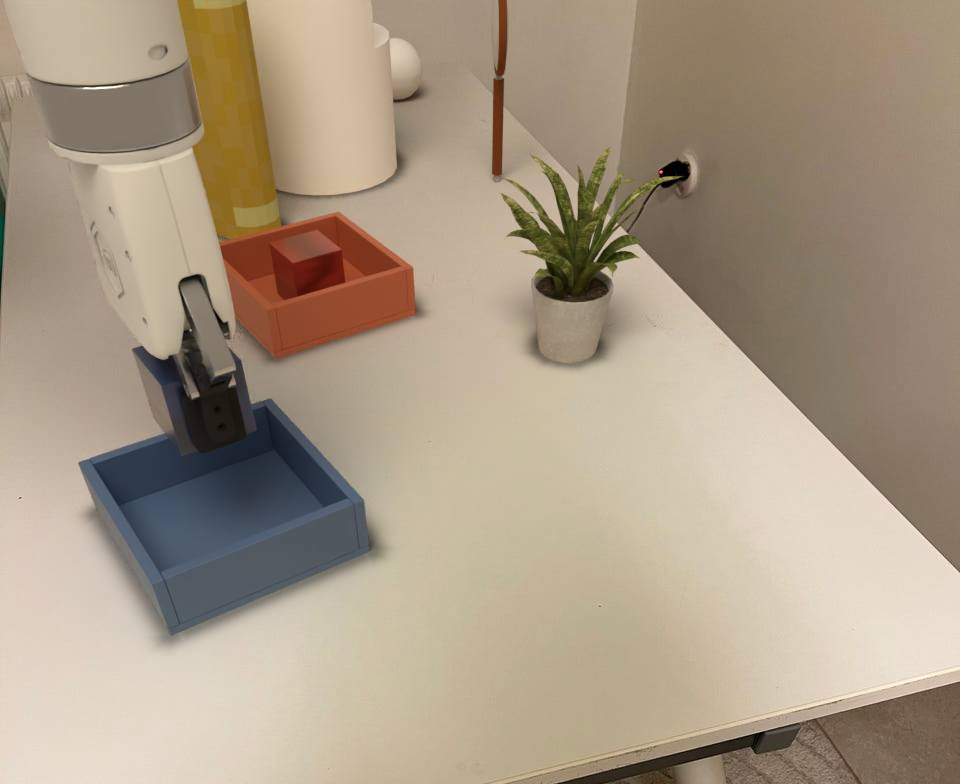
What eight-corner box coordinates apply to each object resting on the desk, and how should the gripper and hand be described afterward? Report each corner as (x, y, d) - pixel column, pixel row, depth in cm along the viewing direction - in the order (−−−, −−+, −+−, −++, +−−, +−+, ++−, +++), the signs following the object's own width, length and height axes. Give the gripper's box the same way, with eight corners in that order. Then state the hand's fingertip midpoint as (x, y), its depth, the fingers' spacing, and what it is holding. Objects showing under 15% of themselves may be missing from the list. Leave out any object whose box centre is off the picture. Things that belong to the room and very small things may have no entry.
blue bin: (171, 638, 58) (151, 584, 54) (98, 515, 66) (77, 461, 62) (370, 553, 63) (364, 499, 60) (280, 449, 71) (270, 397, 68)
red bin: (276, 360, 80) (266, 310, 77) (212, 295, 88) (201, 246, 85) (416, 316, 86) (413, 267, 82) (343, 258, 94) (338, 211, 90)
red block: (300, 315, 84) (292, 262, 81) (277, 293, 87) (268, 242, 83) (347, 301, 86) (342, 249, 82) (323, 280, 89) (317, 229, 85)
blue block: (182, 457, 55) (160, 385, 52) (153, 418, 58) (131, 348, 54) (257, 431, 57) (241, 360, 54) (225, 395, 60) (209, 325, 56)
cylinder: (339, 208, 102) (305, -109, 82) (225, 176, 108) (166, -127, 88) (424, 160, 112) (413, -134, 92) (315, 133, 118) (282, -148, 98)
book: (143, 212, 101) (70, -66, 83) (188, 192, 105) (127, -78, 87) (252, 251, 95) (199, -41, 76) (296, 229, 99) (255, -55, 80)
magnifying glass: (506, 197, 105) (512, -11, 90) (492, 197, 105) (495, -10, 90) (501, 168, 111) (505, -31, 96) (487, 168, 110) (489, -31, 96)
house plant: (628, 301, 88) (652, 117, 76) (678, 376, 79) (715, 180, 67) (486, 316, 86) (487, 129, 74) (521, 394, 77) (529, 196, 65)
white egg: (423, 90, 130) (421, 30, 125) (422, 107, 125) (420, 46, 120) (354, 90, 130) (349, 30, 124) (350, 108, 125) (345, 46, 119)
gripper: (-4, 73, 47) (103, 379, 61) (99, 178, 38) (199, 514, 51) (135, 50, 50) (207, 347, 64) (263, 142, 41) (317, 469, 54)
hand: (203, 419), depth 57 cm, fingers closed on blue block, 5 cm apart
